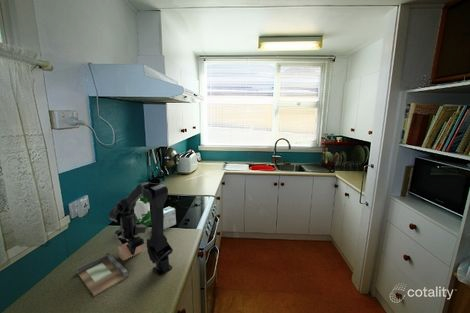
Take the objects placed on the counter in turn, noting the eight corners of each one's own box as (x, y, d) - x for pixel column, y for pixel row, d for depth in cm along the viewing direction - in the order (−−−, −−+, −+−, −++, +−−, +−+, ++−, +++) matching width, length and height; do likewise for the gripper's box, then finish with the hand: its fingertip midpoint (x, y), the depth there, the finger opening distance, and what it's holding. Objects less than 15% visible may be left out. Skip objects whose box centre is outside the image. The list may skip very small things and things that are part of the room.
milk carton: (143, 230, 129) (140, 199, 125) (132, 227, 132) (129, 197, 129) (153, 223, 137) (151, 194, 133) (143, 221, 140) (140, 192, 137)
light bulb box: (170, 221, 140) (169, 205, 139) (176, 224, 136) (175, 208, 134) (155, 227, 132) (154, 211, 130) (161, 230, 128) (160, 214, 126)
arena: (128, 276, 91) (127, 270, 90) (94, 296, 81) (93, 289, 80) (109, 258, 103) (108, 252, 103) (77, 273, 93) (76, 267, 93)
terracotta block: (141, 252, 108) (140, 241, 107) (123, 261, 101) (122, 250, 100) (137, 248, 111) (136, 238, 110) (119, 257, 104) (118, 246, 103)
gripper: (152, 223, 104) (155, 251, 106) (134, 213, 115) (137, 239, 118) (130, 233, 95) (133, 263, 98) (112, 220, 106) (116, 248, 109)
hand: (130, 252), depth 106 cm, fingers open, 5 cm apart
